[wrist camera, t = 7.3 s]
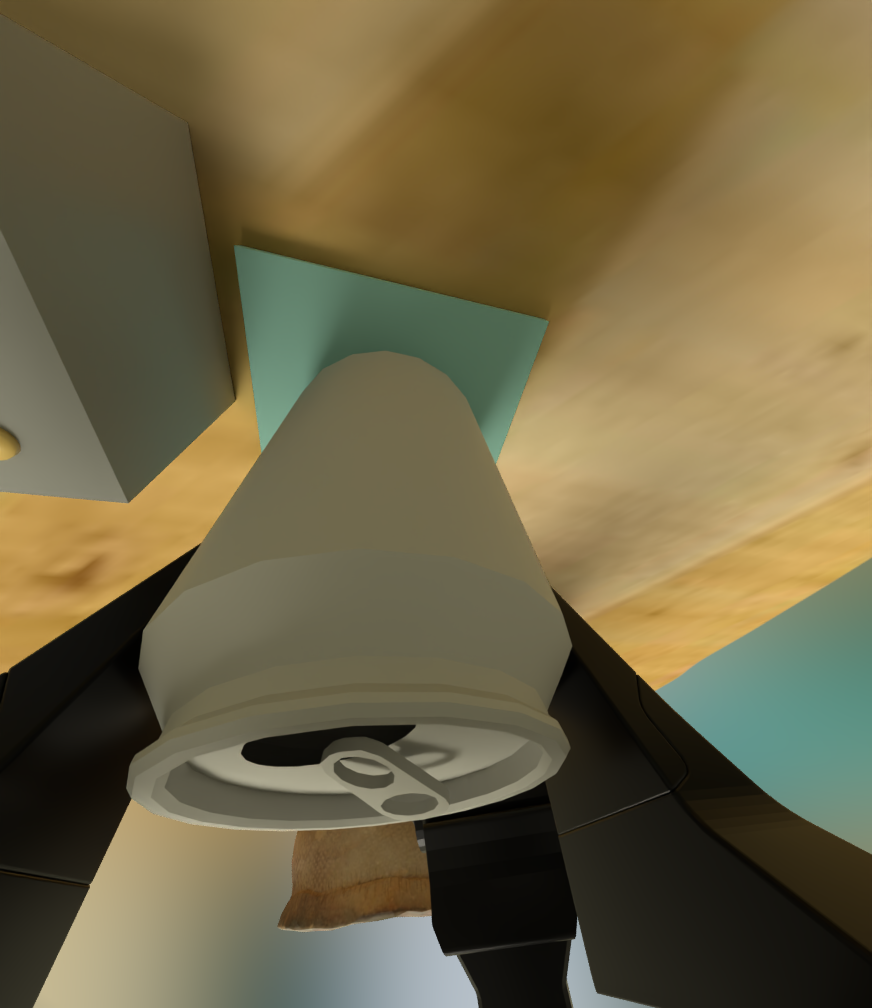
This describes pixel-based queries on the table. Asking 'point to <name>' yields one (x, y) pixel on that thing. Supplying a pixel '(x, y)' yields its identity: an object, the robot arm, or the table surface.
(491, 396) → the mat
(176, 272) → the unit
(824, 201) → the table surface
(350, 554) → the can
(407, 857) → the ceramic bowl
